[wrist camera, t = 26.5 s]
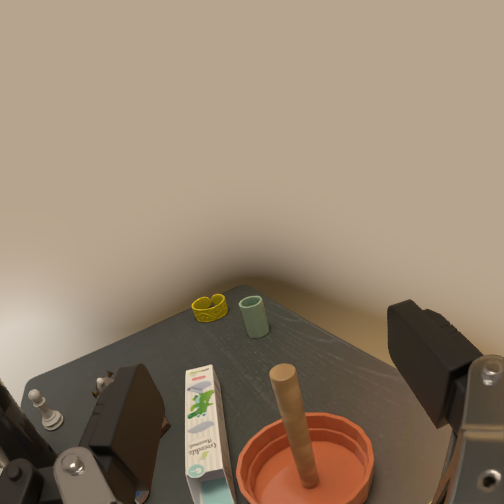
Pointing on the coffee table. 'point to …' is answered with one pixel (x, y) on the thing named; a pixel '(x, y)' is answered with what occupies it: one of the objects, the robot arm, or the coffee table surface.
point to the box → (206, 440)
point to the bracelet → (210, 313)
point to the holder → (254, 316)
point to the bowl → (326, 458)
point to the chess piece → (46, 411)
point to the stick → (295, 422)
